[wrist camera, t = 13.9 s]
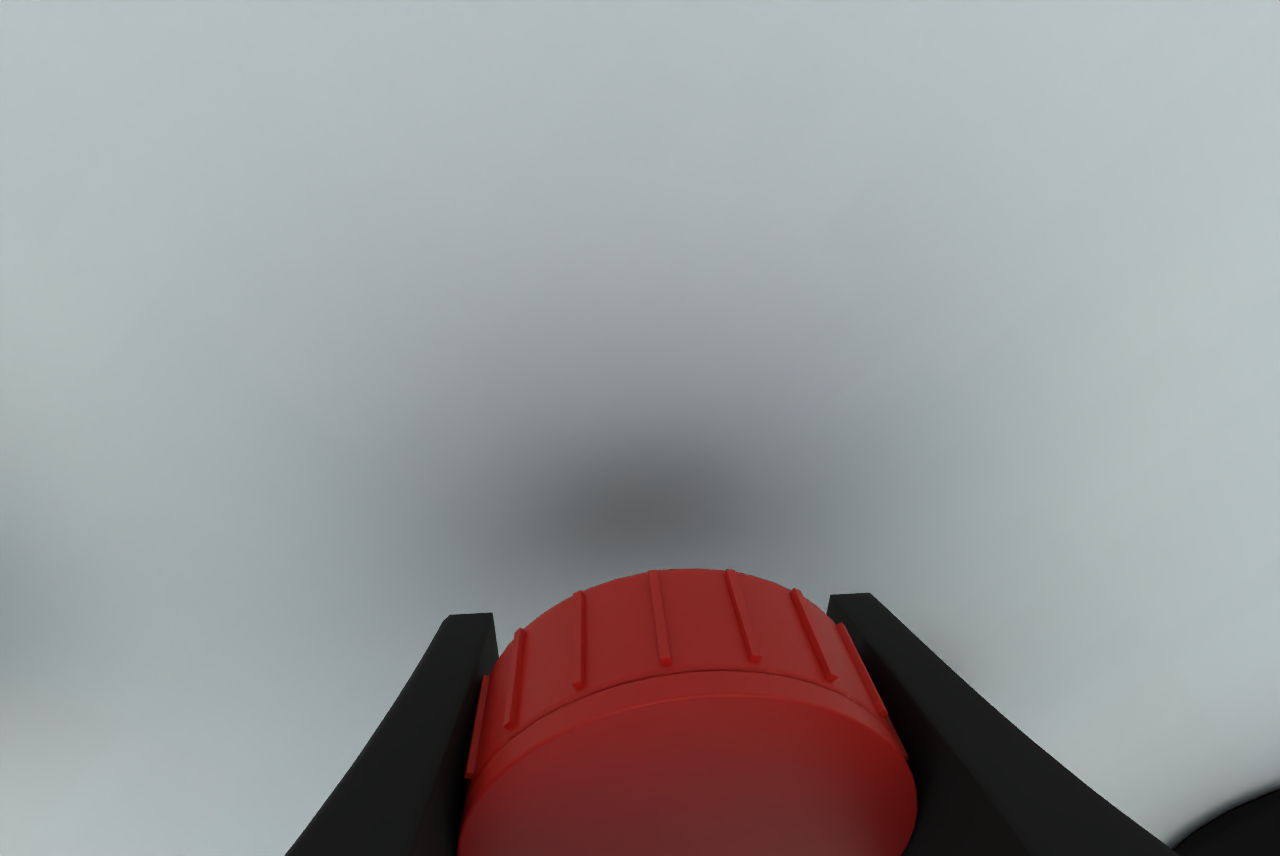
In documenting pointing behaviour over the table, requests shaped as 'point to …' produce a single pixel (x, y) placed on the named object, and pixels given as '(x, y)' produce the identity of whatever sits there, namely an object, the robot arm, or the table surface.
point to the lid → (684, 730)
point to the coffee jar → (1239, 832)
